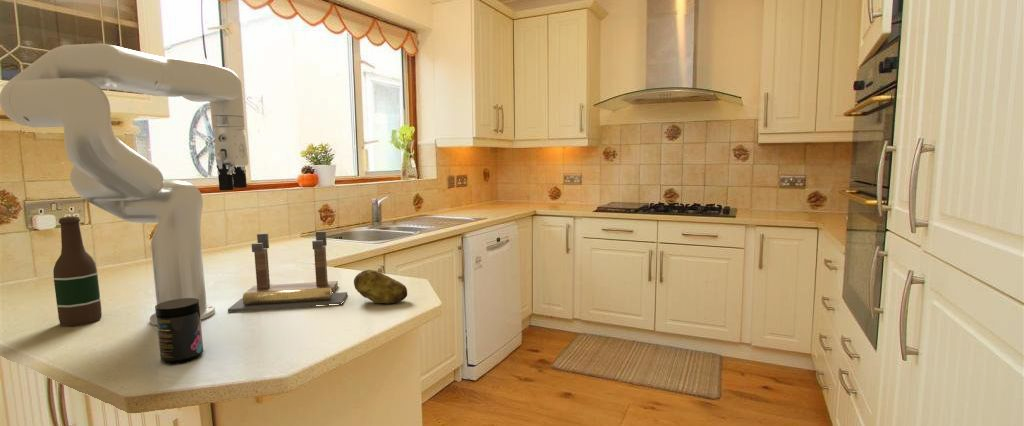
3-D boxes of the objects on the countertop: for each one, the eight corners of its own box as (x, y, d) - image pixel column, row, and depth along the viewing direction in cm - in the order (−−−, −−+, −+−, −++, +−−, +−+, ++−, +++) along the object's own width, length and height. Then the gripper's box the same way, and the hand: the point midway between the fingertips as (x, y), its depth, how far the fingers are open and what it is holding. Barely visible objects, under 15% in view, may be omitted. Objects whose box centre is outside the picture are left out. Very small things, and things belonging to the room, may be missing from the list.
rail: (331, 300, 125) (329, 299, 123) (246, 305, 122) (242, 304, 119) (331, 288, 126) (329, 287, 123) (247, 293, 123) (242, 292, 120)
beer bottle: (109, 319, 114) (98, 215, 112) (66, 329, 108) (53, 220, 105) (95, 314, 118) (83, 214, 116) (52, 323, 112) (39, 218, 109)
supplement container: (190, 365, 88) (185, 308, 87) (151, 366, 88) (145, 309, 87) (211, 350, 95) (207, 297, 94) (175, 351, 95) (170, 298, 93)
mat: (342, 305, 123) (341, 301, 122) (228, 312, 118) (227, 309, 118) (347, 295, 131) (347, 292, 131) (241, 301, 127) (241, 298, 127)
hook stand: (333, 292, 134) (330, 234, 132) (245, 298, 130) (240, 237, 128) (337, 286, 140) (334, 230, 139) (254, 291, 137) (249, 233, 135)
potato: (390, 310, 118) (388, 277, 117) (349, 303, 124) (347, 272, 123) (411, 300, 126) (410, 269, 125) (372, 295, 131) (370, 265, 130)
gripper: (231, 121, 122) (237, 190, 124) (254, 125, 139) (259, 186, 141) (198, 121, 121) (204, 191, 123) (225, 125, 138) (230, 187, 140)
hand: (233, 188), depth 132 cm, fingers open, 9 cm apart
